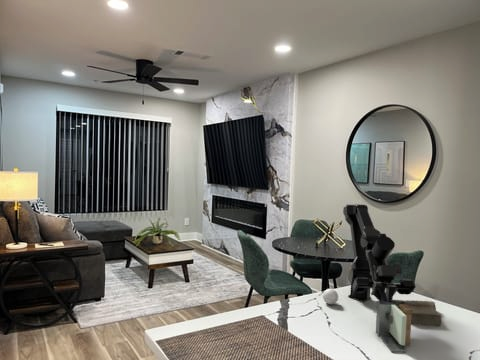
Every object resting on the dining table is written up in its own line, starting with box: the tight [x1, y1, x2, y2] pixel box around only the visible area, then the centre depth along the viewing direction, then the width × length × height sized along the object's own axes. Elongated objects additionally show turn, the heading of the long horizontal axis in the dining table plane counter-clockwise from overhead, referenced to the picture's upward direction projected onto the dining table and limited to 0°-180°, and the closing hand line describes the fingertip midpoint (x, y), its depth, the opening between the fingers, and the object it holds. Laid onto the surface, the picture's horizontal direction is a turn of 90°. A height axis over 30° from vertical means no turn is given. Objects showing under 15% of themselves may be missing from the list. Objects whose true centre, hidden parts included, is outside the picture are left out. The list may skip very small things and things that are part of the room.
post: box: [399, 304, 413, 348], centre depth 105 cm, size 4×2×11 cm, turn 178°
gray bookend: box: [375, 300, 407, 354], centre depth 105 cm, size 12×8×10 cm
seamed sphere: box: [322, 288, 340, 305], centre depth 132 cm, size 8×6×6 cm
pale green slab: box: [389, 305, 407, 346], centre depth 104 cm, size 8×2×8 cm, turn 179°
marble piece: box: [392, 299, 443, 327], centre depth 125 cm, size 17×15×4 cm
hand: (389, 311), depth 111 cm, fingers closed, pressing on gray bookend
